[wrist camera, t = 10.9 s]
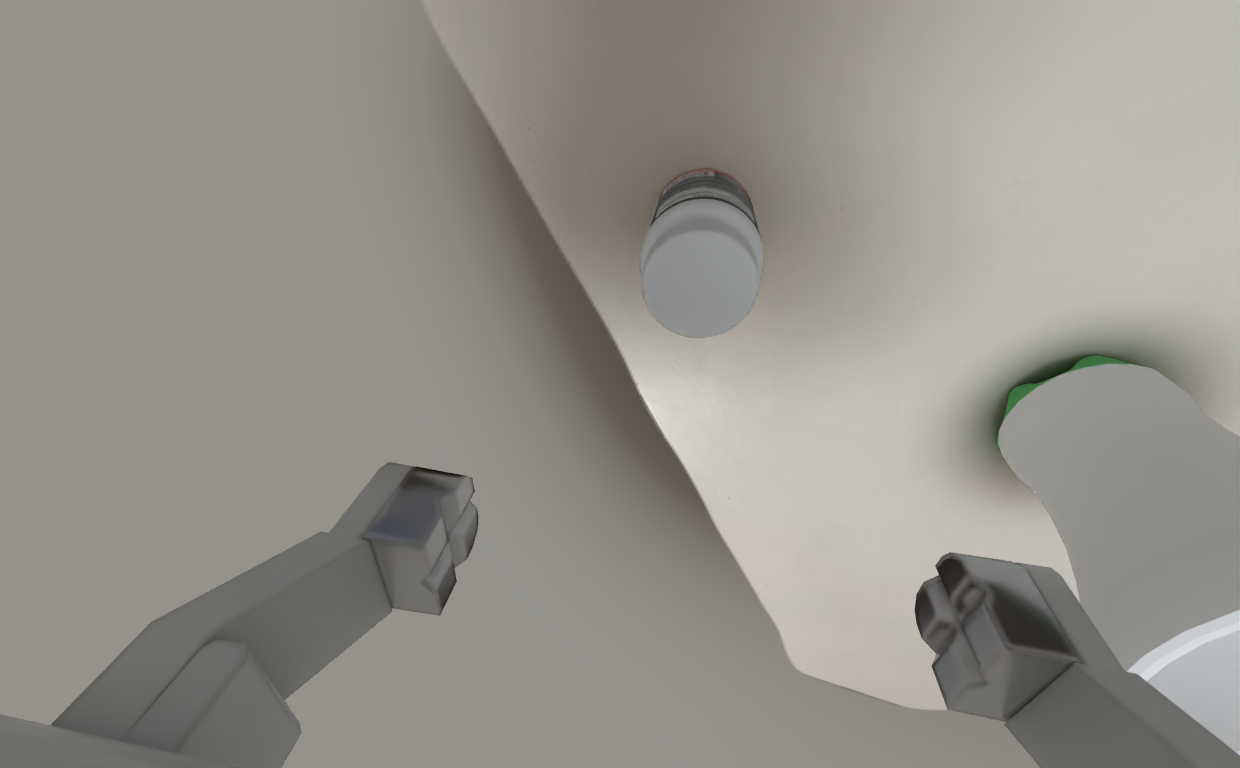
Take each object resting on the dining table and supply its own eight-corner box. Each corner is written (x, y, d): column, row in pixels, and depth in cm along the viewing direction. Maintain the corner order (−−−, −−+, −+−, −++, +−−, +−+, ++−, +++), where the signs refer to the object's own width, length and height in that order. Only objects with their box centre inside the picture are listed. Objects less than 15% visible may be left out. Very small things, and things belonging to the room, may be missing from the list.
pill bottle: (723, 280, 26) (729, 368, 19) (638, 244, 25) (612, 320, 18) (772, 191, 23) (799, 255, 16) (677, 149, 22) (664, 196, 16)
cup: (1228, 433, 26) (1639, 744, 15) (996, 510, 31) (1165, 785, 20) (1172, 272, 22) (1674, 523, 11) (917, 390, 27) (1070, 645, 16)
